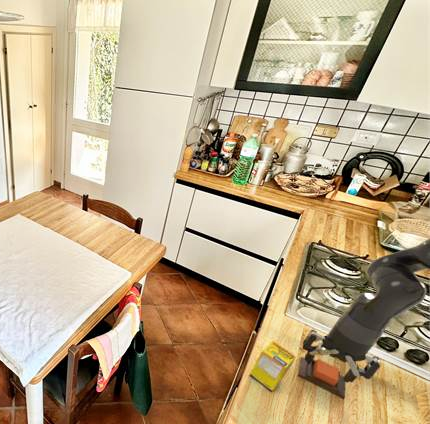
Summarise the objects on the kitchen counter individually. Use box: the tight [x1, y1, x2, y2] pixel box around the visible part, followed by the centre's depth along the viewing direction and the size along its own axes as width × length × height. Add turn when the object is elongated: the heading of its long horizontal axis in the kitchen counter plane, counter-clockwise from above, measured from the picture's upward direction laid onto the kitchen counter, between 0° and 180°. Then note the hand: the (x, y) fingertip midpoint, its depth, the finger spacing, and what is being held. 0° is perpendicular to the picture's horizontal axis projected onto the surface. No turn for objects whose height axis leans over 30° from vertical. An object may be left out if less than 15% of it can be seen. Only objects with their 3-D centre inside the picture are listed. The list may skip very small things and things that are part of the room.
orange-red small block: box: [312, 358, 339, 386], centre depth 84 cm, size 5×5×3 cm
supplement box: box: [249, 340, 297, 393], centre depth 82 cm, size 6×6×11 cm
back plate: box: [297, 356, 346, 400], centre depth 85 cm, size 10×7×2 cm
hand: (326, 370), depth 83 cm, fingers open, 7 cm apart
